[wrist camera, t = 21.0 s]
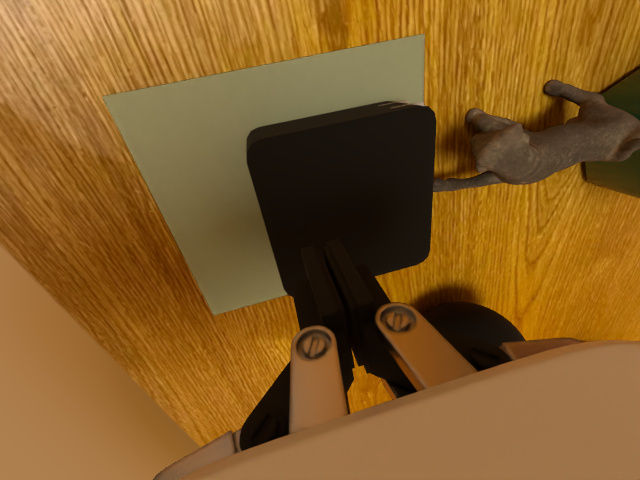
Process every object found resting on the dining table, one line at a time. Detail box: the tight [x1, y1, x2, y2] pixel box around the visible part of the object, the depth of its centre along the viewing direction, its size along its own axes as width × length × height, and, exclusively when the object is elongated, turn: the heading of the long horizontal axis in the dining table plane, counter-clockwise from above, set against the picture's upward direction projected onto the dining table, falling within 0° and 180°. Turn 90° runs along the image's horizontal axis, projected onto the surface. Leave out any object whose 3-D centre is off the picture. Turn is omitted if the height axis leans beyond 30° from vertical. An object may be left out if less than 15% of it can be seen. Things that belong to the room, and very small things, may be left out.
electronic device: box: [246, 100, 436, 297], centre depth 18 cm, size 4×10×10 cm
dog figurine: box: [433, 80, 640, 192], centre depth 18 cm, size 12×6×7 cm, turn 100°
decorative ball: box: [423, 302, 526, 347], centre depth 26 cm, size 10×10×10 cm
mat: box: [103, 34, 425, 315], centre depth 20 cm, size 18×16×1 cm
